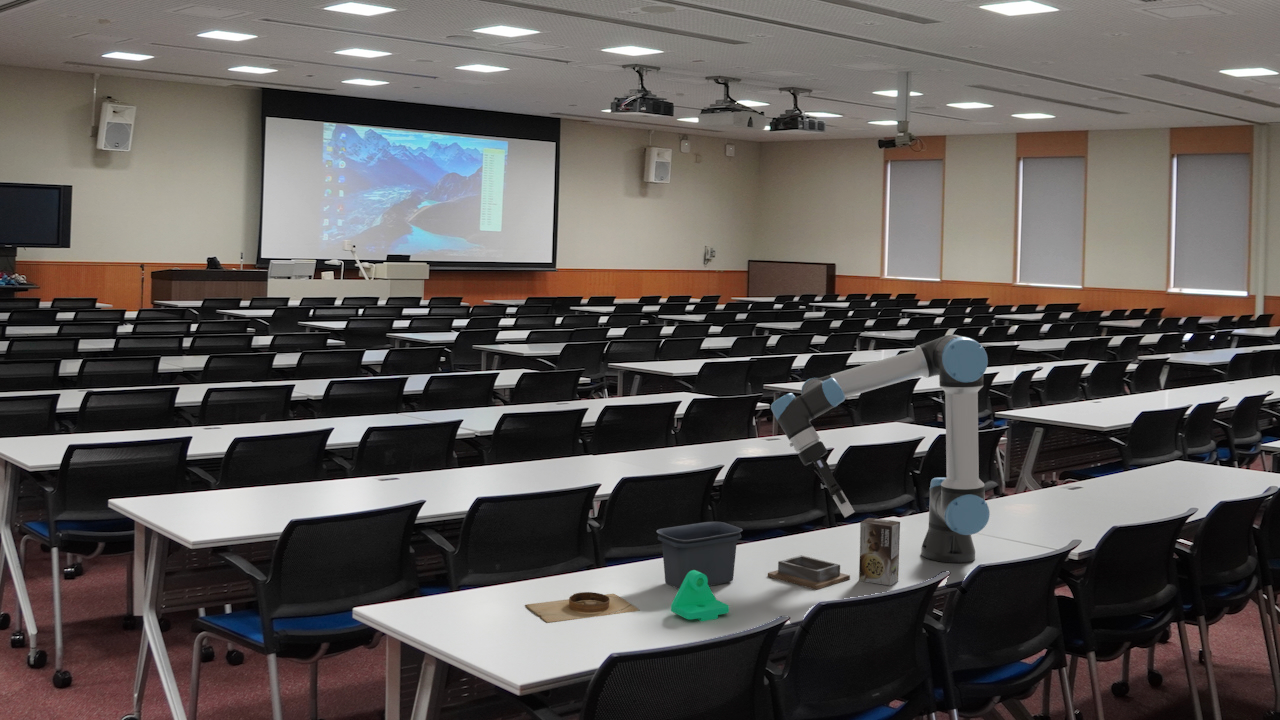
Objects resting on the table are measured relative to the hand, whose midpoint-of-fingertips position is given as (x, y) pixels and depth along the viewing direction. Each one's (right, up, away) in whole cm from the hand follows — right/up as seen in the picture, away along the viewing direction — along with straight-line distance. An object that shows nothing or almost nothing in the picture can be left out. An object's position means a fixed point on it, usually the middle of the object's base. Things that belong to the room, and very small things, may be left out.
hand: (849, 515), depth 313 cm
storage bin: (-42, -17, -8) cm, 46 cm away
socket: (-11, -16, -2) cm, 20 cm away
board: (-70, -19, -32) cm, 80 cm away
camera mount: (-42, -19, -36) cm, 59 cm away
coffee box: (+7, -17, -4) cm, 19 cm away
